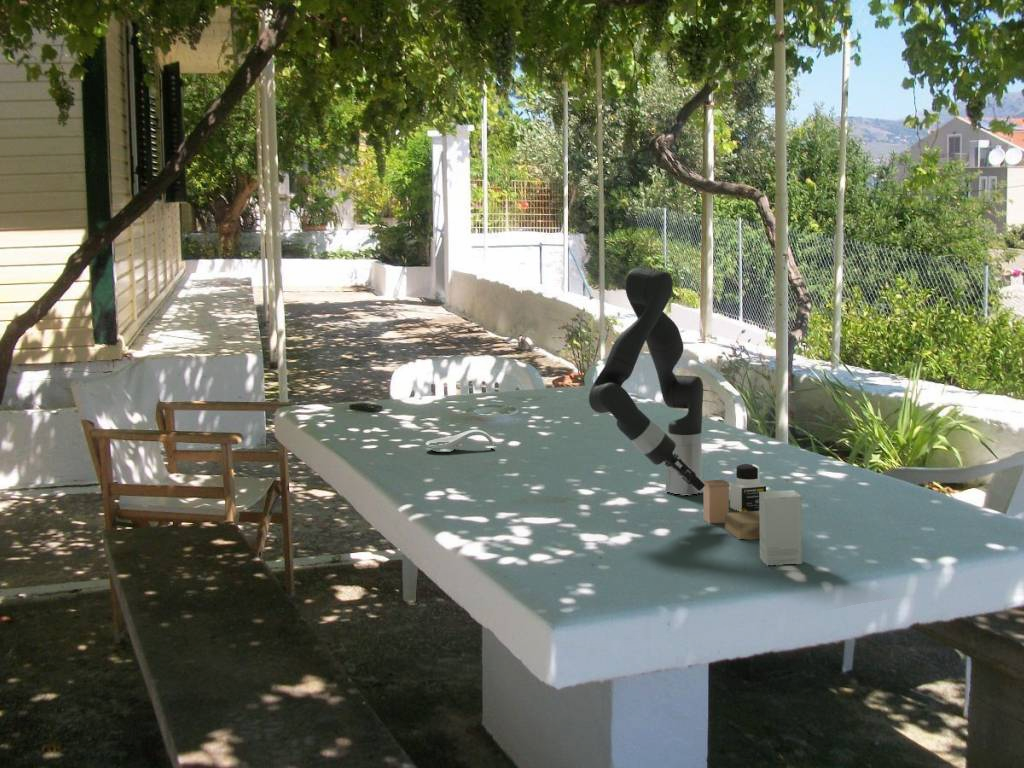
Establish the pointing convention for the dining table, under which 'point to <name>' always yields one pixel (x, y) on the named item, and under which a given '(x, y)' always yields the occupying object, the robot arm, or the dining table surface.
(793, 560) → the skincare box
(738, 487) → the medicine bottle
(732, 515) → the teak block
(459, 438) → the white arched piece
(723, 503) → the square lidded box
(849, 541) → the dining table surface
